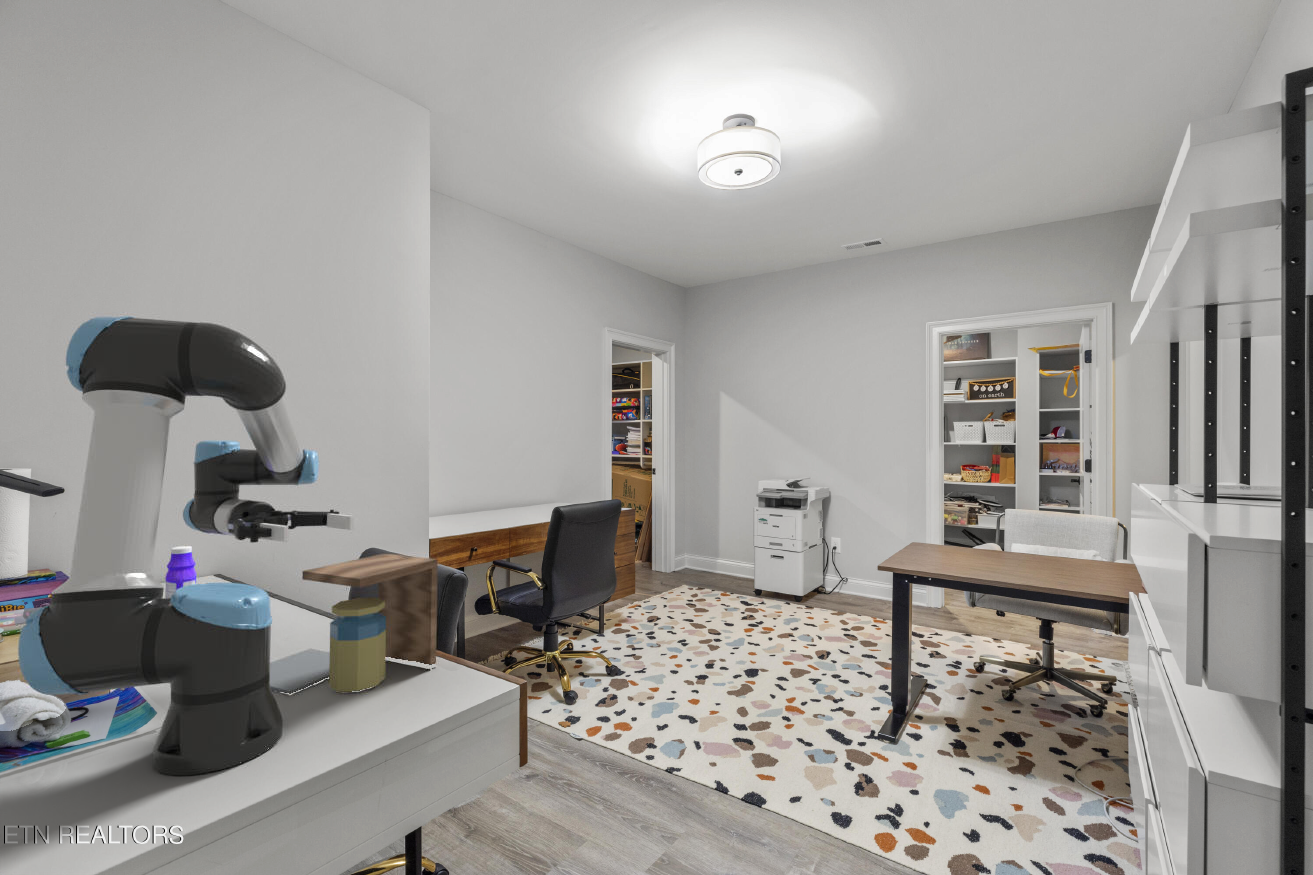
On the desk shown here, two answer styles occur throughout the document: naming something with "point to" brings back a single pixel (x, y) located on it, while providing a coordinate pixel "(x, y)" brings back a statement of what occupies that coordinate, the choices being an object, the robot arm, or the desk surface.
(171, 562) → the bottle
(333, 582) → the shelf
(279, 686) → the mat
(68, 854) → the desk surface
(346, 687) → the jar
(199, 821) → the desk surface
